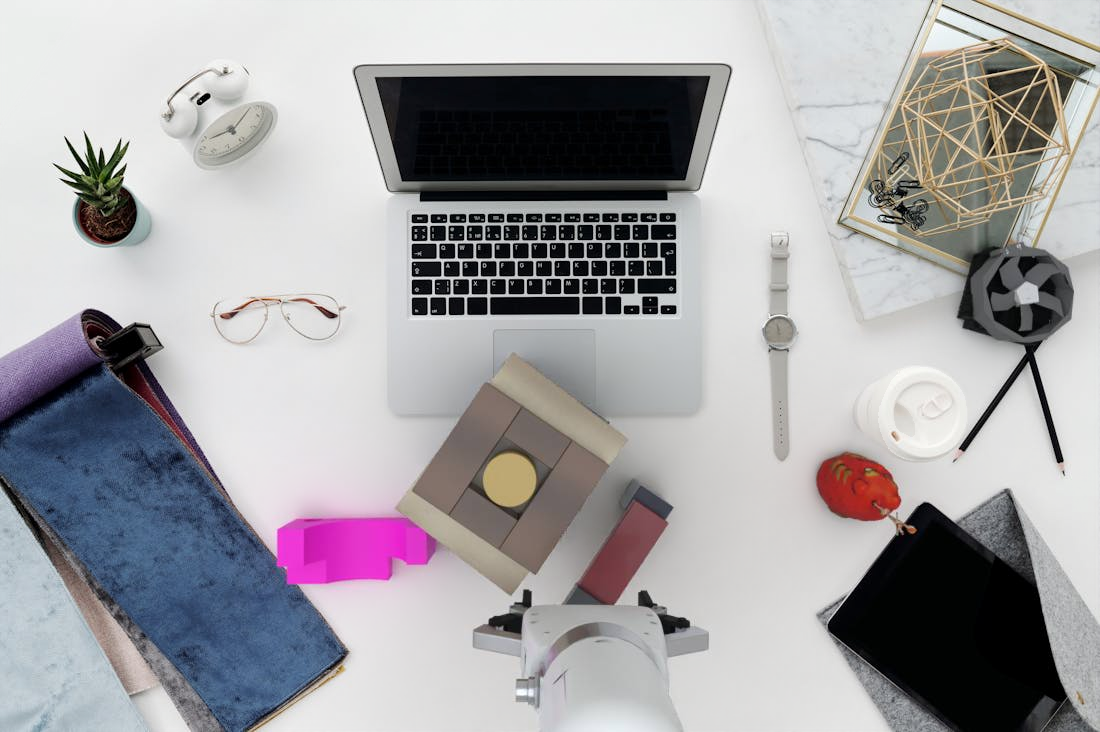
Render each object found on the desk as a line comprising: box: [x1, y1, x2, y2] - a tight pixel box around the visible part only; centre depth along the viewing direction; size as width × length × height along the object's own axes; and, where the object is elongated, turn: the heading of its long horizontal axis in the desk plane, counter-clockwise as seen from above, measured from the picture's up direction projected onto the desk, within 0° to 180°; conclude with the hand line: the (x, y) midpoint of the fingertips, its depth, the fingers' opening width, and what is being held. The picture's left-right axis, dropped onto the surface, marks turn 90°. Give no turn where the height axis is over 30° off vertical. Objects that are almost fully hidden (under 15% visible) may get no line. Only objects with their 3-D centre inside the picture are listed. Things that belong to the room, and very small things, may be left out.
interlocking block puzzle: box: [394, 352, 629, 597], centre depth 72 cm, size 16×12×27 cm
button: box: [483, 450, 537, 507], centre depth 59 cm, size 4×4×3 cm
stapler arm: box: [561, 499, 669, 605], centre depth 76 cm, size 13×4×3 cm, turn 146°
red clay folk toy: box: [815, 451, 917, 537], centre depth 78 cm, size 8×7×15 cm
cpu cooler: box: [956, 241, 1075, 347], centre depth 84 cm, size 10×6×10 cm
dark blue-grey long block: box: [618, 477, 674, 521], centre depth 81 cm, size 15×6×8 cm, turn 146°
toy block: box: [276, 516, 436, 585], centre depth 81 cm, size 15×6×8 cm, turn 91°
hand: (584, 608), depth 64 cm, fingers open, 9 cm apart
